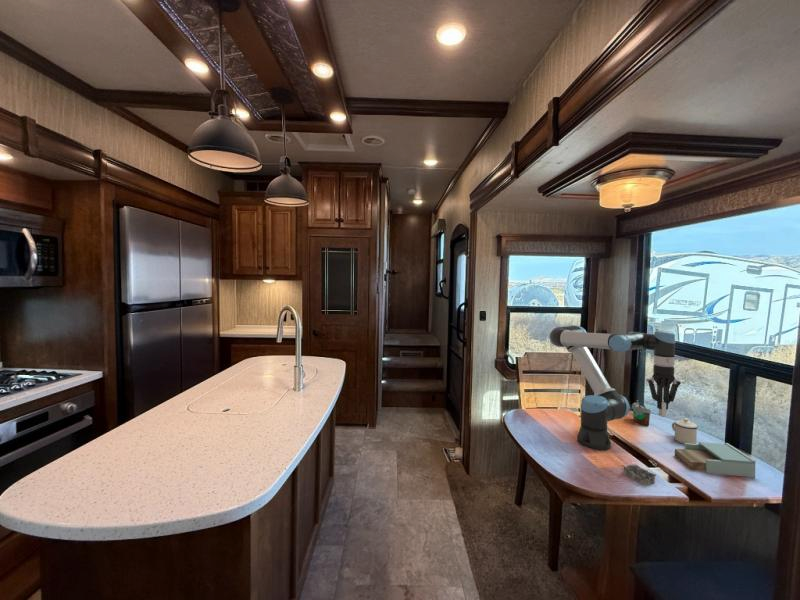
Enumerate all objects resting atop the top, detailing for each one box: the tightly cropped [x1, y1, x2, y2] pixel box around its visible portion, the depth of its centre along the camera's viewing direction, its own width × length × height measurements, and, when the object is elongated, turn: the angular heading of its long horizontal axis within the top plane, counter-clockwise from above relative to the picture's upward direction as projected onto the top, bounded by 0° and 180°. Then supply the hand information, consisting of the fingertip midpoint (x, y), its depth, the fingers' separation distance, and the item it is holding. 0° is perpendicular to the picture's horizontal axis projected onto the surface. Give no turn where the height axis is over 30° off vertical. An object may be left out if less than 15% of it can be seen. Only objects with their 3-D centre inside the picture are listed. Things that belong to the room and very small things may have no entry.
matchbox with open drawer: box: [684, 441, 757, 478], centre depth 151 cm, size 17×16×7 cm
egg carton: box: [621, 464, 657, 487], centre depth 142 cm, size 11×8×4 cm
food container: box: [631, 402, 652, 427], centre depth 197 cm, size 12×6×10 cm, turn 172°
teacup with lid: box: [671, 417, 699, 445], centre depth 175 cm, size 12×9×12 cm
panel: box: [674, 448, 720, 472], centre depth 151 cm, size 18×12×4 cm, turn 79°
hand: (662, 415), depth 155 cm, fingers closed
